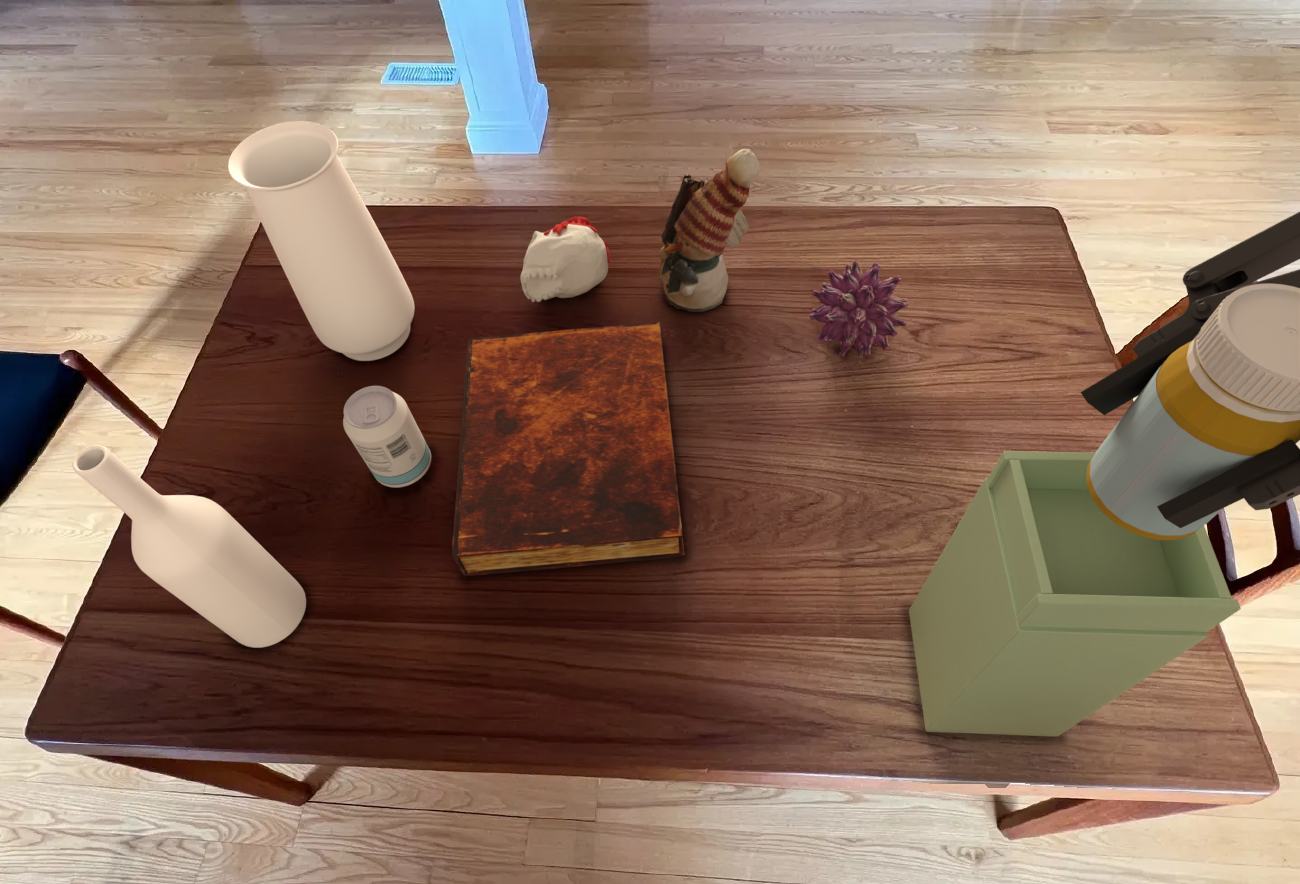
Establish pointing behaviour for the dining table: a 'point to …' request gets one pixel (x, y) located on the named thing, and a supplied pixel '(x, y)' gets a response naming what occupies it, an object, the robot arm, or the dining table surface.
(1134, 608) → the stand
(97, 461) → the bottle
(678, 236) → the figurine
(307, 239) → the vase
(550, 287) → the white and red skull
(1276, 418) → the bottle
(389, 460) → the beverage can
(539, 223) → the dining table surface
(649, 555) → the book
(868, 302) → the flower
